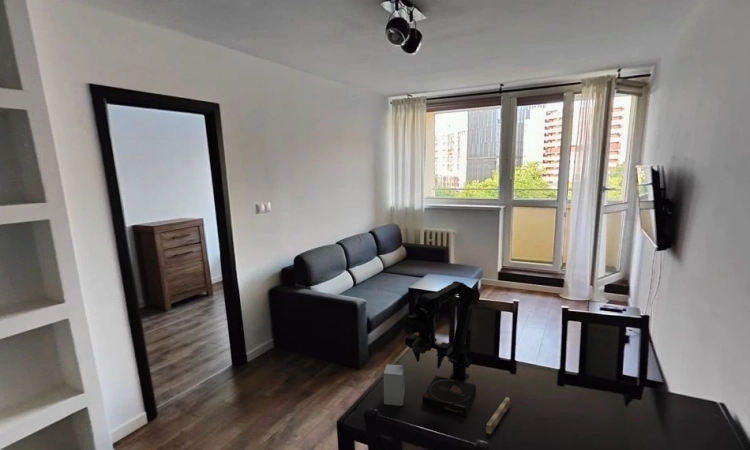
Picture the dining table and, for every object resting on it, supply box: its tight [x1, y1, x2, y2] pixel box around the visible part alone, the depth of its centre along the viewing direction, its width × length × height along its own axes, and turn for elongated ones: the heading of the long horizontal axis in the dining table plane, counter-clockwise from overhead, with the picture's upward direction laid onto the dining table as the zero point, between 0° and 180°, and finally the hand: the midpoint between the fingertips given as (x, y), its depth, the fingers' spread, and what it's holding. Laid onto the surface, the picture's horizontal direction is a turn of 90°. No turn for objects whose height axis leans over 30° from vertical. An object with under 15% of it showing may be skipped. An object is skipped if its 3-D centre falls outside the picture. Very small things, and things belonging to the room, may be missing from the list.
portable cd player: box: [422, 375, 477, 418], centre depth 137 cm, size 16×17×4 cm
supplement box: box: [383, 363, 405, 406], centre depth 137 cm, size 7×7×13 cm
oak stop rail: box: [485, 396, 511, 435], centre depth 125 cm, size 19×1×3 cm, turn 141°
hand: (428, 364), depth 140 cm, fingers open, 9 cm apart
